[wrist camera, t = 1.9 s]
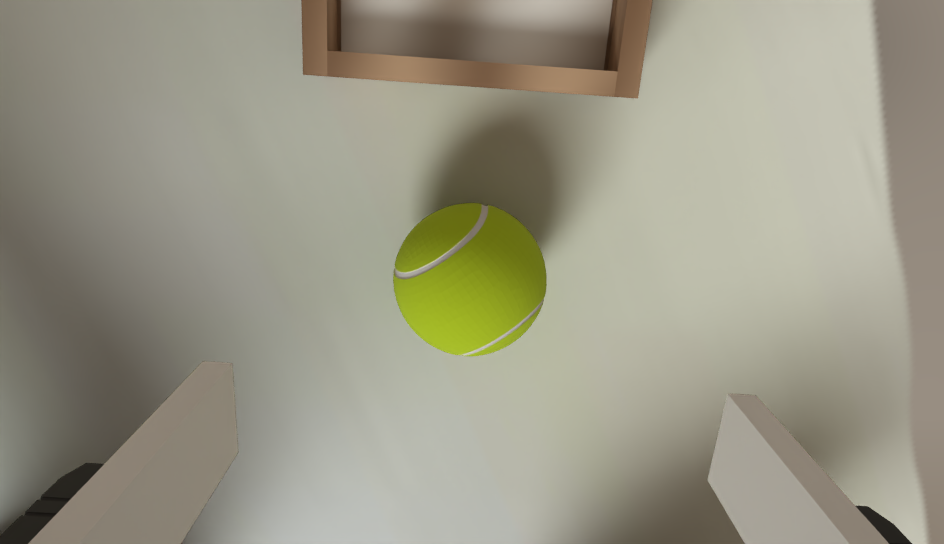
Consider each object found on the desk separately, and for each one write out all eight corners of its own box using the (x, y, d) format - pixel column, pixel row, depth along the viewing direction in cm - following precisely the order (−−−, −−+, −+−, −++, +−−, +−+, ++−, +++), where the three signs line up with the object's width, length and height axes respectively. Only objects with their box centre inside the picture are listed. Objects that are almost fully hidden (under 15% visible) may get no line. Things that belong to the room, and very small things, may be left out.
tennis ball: (375, 240, 30) (349, 285, 23) (488, 163, 29) (494, 188, 22) (452, 343, 32) (448, 411, 25) (562, 274, 31) (587, 327, 24)
